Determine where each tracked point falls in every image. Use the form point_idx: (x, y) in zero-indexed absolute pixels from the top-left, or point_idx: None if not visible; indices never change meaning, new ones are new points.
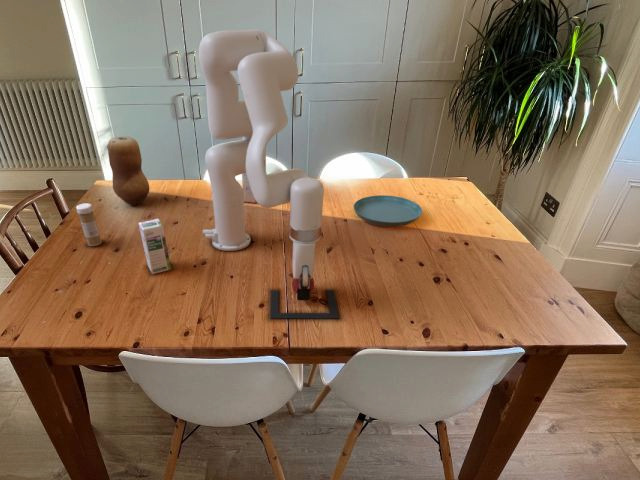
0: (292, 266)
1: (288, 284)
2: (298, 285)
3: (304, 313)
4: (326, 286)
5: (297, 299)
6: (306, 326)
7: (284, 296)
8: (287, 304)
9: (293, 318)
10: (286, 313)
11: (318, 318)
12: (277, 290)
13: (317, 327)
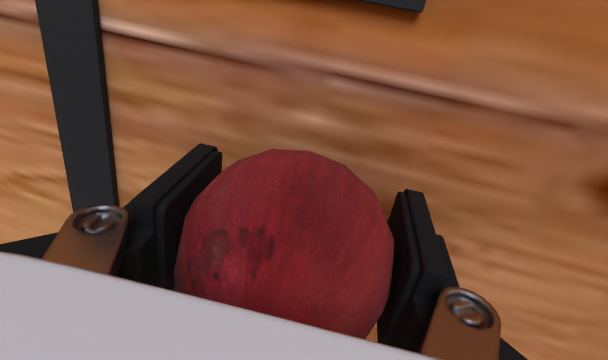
0: (343, 342)
1: (494, 128)
2: (192, 217)
3: (103, 148)
4: (376, 335)
5: (201, 145)
6: (2, 127)
7: (326, 54)
8: (216, 56)
9: (47, 63)
10: (88, 21)
11: (73, 209)
12: (420, 1)
13: (9, 181)
